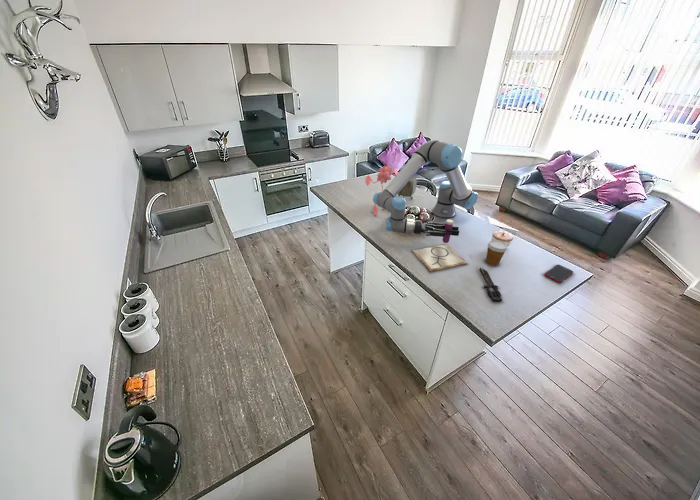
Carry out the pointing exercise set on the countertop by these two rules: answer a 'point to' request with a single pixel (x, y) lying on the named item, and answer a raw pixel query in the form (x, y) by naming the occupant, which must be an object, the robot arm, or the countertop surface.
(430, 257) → the drawing board
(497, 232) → the lidded sugar bowl
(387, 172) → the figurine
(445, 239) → the dot marker
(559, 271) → the cell phone
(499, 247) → the disposable coffee cup
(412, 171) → the robot arm
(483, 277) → the knife
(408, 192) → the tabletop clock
